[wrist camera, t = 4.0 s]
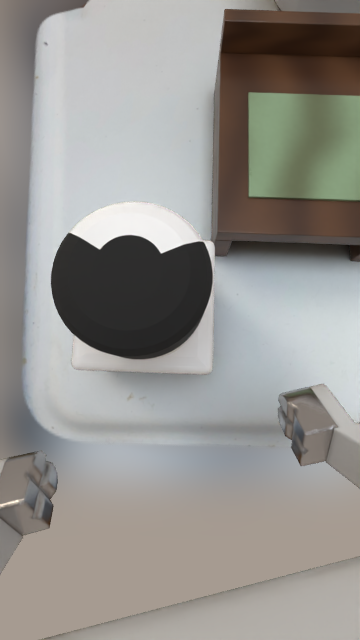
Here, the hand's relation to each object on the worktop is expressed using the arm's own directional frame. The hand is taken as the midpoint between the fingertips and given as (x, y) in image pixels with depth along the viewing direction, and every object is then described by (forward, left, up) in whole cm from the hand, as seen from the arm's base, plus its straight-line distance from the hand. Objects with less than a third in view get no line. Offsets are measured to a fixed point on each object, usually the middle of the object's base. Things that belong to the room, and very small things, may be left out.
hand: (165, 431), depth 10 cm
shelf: (+9, +18, -11) cm, 23 cm away
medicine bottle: (-2, +5, -11) cm, 13 cm away
